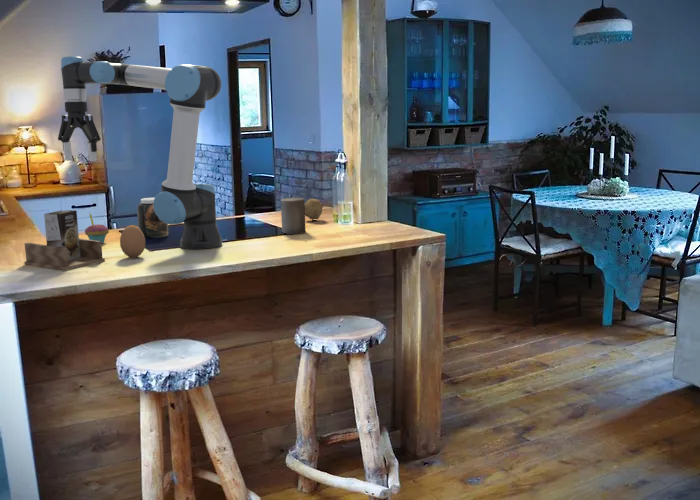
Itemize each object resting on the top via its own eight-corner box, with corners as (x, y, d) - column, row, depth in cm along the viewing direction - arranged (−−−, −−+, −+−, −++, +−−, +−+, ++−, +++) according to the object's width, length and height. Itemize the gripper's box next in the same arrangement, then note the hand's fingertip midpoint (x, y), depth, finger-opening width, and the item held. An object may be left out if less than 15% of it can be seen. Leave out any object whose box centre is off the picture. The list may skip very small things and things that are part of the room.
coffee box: (65, 263, 230) (60, 214, 226) (47, 262, 231) (42, 213, 228) (81, 257, 238) (77, 210, 235) (64, 256, 240) (60, 209, 237)
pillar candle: (310, 231, 289) (309, 195, 286) (296, 235, 281) (294, 197, 278) (291, 230, 294) (290, 194, 291) (276, 233, 286) (275, 196, 283)
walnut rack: (104, 261, 237) (103, 240, 235) (63, 270, 223) (61, 249, 222) (65, 255, 247) (63, 235, 245) (24, 264, 233) (22, 243, 232)
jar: (132, 237, 281) (129, 200, 278) (150, 232, 291) (148, 196, 288) (156, 239, 276) (154, 201, 273) (174, 234, 287) (172, 197, 284)
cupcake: (87, 245, 265) (84, 214, 262) (84, 242, 272) (81, 211, 270) (111, 243, 268) (108, 212, 266) (107, 240, 276) (105, 209, 274)
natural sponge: (300, 222, 313) (300, 199, 311) (305, 219, 322) (304, 197, 320) (320, 222, 312) (320, 199, 310) (324, 219, 320) (324, 197, 318)
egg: (122, 261, 237) (120, 227, 235) (119, 256, 244) (117, 224, 242) (148, 258, 240) (145, 225, 238) (144, 254, 247) (142, 222, 245)
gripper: (107, 100, 251) (112, 160, 255) (61, 101, 263) (67, 159, 267) (90, 100, 244) (95, 162, 248) (44, 101, 257) (49, 160, 261)
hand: (80, 160), depth 258 cm, fingers open, 13 cm apart
